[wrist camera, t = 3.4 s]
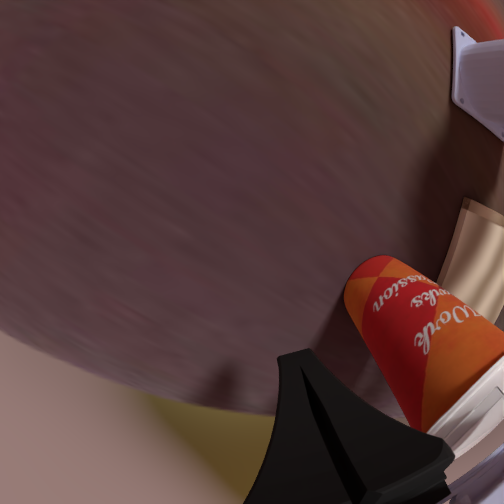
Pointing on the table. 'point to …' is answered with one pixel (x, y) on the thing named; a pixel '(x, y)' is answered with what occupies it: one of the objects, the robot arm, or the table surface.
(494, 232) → the birch board
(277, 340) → the table surface
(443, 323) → the paper cup
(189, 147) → the table surface
